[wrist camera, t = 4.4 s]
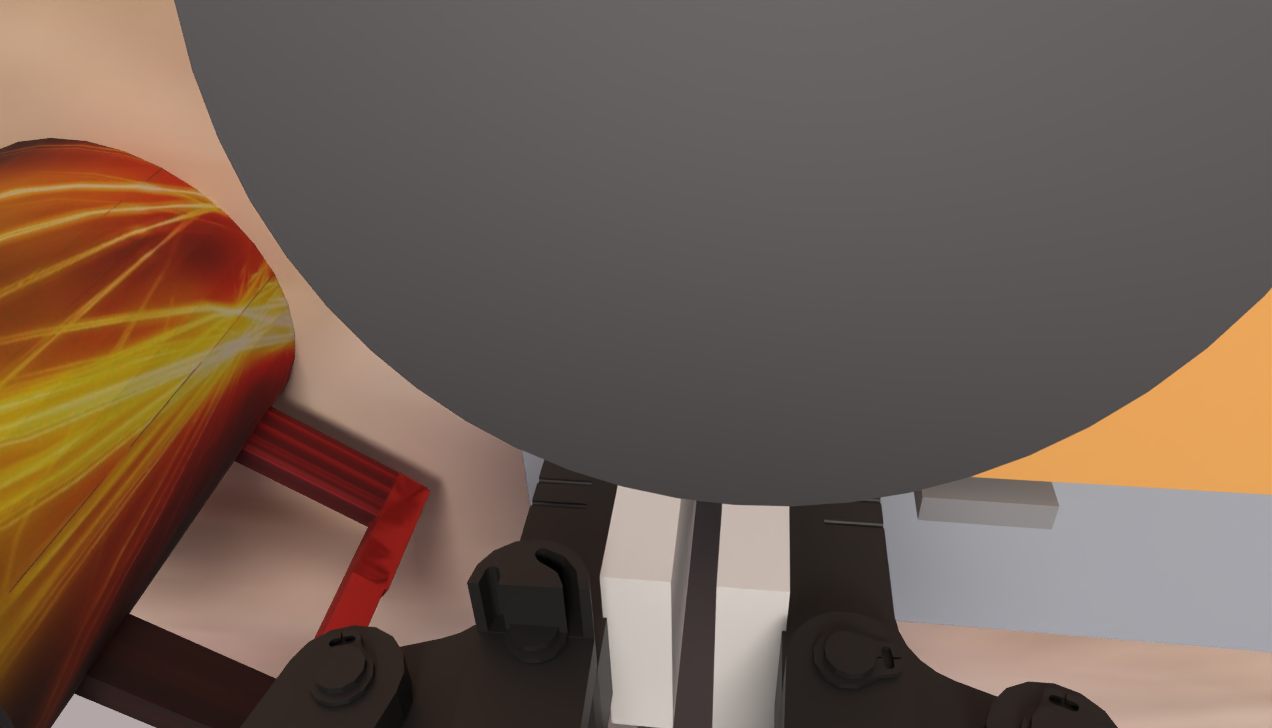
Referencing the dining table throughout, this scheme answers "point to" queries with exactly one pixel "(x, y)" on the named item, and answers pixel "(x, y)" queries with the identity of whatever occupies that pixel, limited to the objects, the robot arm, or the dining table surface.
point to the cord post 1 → (699, 623)
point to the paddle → (1180, 425)
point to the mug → (144, 433)
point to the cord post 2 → (761, 217)
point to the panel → (1079, 560)
